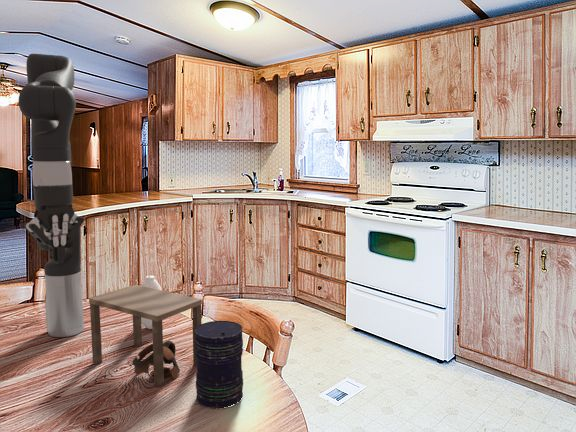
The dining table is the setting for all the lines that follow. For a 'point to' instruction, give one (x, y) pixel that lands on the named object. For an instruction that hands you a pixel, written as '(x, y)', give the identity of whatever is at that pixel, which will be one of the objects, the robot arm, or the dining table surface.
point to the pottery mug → (144, 364)
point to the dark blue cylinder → (219, 364)
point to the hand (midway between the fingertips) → (57, 262)
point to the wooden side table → (146, 306)
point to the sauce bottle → (153, 284)
